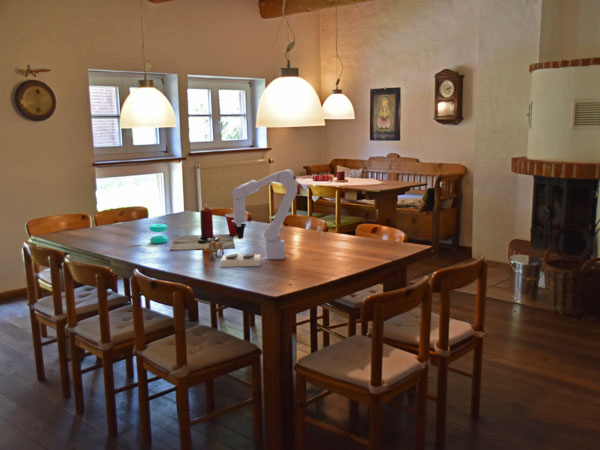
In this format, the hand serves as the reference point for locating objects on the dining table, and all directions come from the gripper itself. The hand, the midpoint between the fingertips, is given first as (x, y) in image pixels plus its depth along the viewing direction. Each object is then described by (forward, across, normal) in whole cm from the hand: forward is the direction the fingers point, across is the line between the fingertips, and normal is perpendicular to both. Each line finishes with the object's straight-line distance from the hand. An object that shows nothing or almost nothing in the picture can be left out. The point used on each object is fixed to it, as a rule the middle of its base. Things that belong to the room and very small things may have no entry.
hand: (240, 238), depth 280 cm
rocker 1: (+6, +15, -3) cm, 16 cm away
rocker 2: (+6, +15, +5) cm, 17 cm away
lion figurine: (+10, -3, -12) cm, 16 cm away
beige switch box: (+9, +13, +1) cm, 16 cm away
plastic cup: (+10, -61, -9) cm, 62 cm away
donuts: (+10, -42, -50) cm, 66 cm away
